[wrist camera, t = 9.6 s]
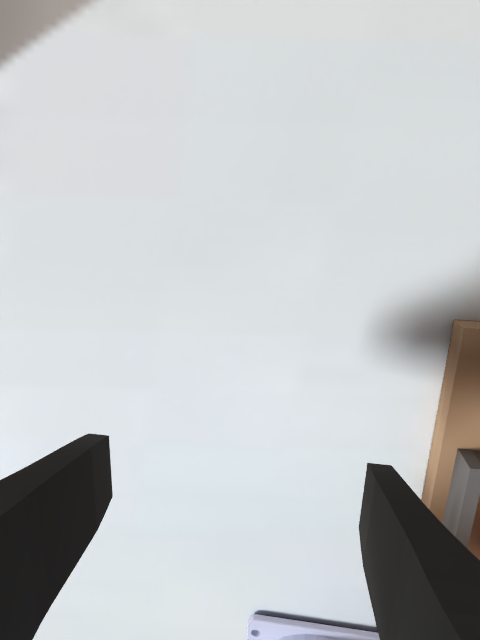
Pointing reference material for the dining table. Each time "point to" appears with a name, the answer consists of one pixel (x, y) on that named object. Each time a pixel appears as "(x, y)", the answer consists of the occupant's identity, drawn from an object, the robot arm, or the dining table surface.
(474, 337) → the gear board
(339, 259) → the dining table surface
